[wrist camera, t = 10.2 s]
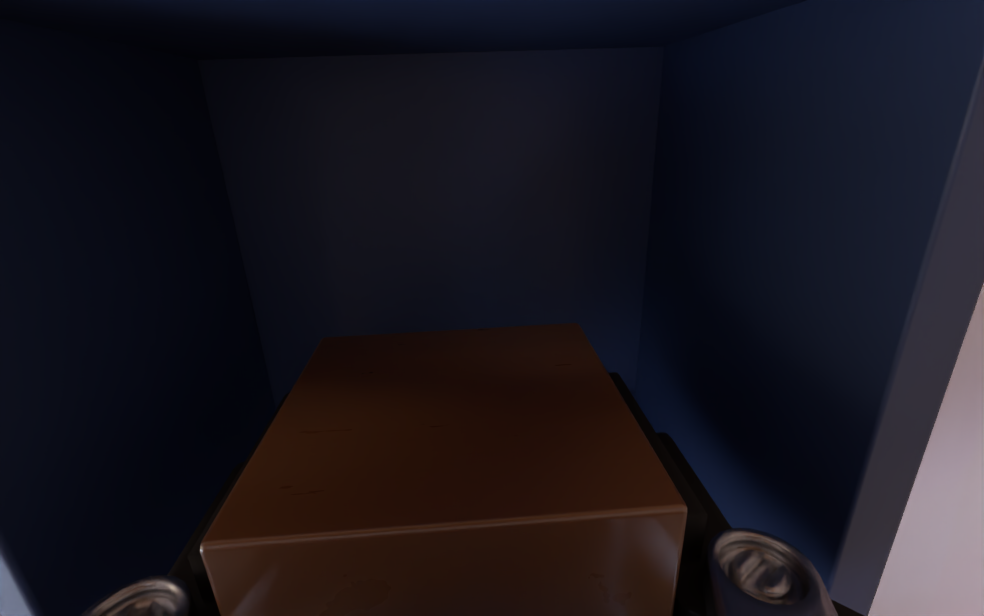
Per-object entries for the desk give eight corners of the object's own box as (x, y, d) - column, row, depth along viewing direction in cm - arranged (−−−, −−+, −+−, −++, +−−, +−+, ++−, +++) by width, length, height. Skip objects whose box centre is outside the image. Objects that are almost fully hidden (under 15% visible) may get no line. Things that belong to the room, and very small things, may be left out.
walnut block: (356, 535, 11) (286, 827, 7) (321, 335, 10) (193, 546, 5) (572, 517, 12) (651, 787, 7) (579, 321, 10) (691, 507, 5)
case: (171, 26, 13) (-508, -184, 4) (685, 13, 14) (1150, -186, 5) (291, 533, 19) (145, 912, 10) (638, 505, 20) (793, 835, 11)
